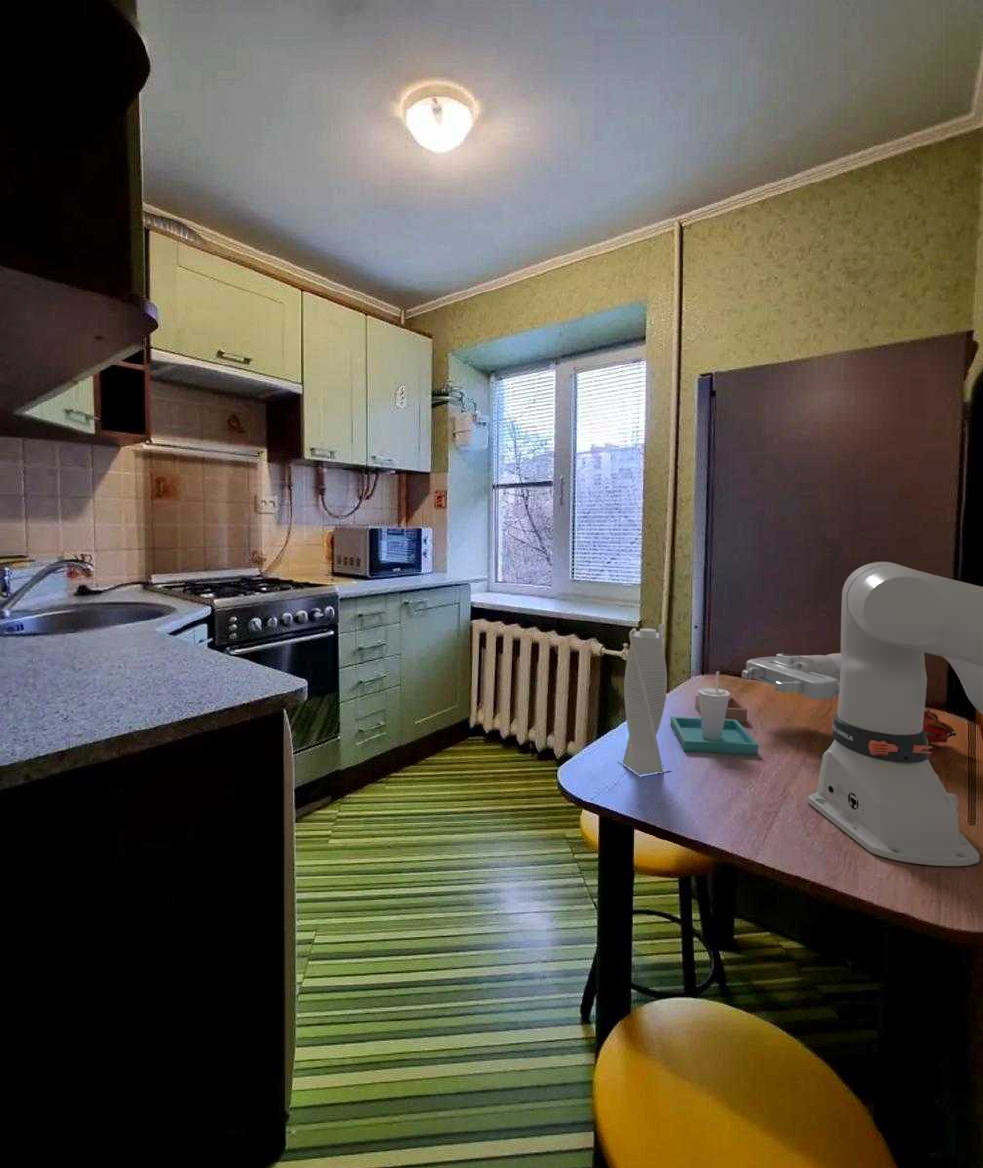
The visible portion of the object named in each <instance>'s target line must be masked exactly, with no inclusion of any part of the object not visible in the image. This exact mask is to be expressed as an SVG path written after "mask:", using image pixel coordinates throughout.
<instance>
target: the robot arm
mask: <svg viewBox="0 0 983 1168" xmlns="http://www.w3.org/2000/svg"><path fill="white" fill-rule="evenodd" d="M840 609H841V610H840V611H841V615H840V652H838V653H837V652H836V653H829V654H826V655H825V654H824V655H823V654H813V655H807V654H806V655H805V654H804V655H803V654H802V655H795V654H789V653H777V654H776V655H775V656H764V657H763V656H762V657H757V658H752V659H748V660H747V661H746V663H745V664H746V666H745V669H743V670H741V678H743V679H744V680H753V679H755V680H758V681H762V682H764V683H767V684H769V685H771V686H774V689H775V690H776V691H778V692H780V693H785V692H788V693H795V694H798V695H800V696H803V697H806V698H808V699H812V700H815V701H816V700H818V701H823V700H828V699H829V700H830V699H832V698H836V697H837V696H838V700H837V713H835V714H834V717H833V721H832V738H833V741H832V743H831V745H830V746H829V748H827V750H826V751H825V752H824V753H823V754H822V758H821V764H820V769H819V777H818V781H817V786H816V792H812V793H811V794H808V799H807V803H808V804H809V805H810V806H811V807H813V808H814V809H815V810H817V812H819V813H820V814H821V815H823V816H824V817H825V818H827V819H828V820H829V821H830V822H831V823H833V824H834V825H835V826H837V828H839V829H840V830H841V831H842V832H844V833H845V834H847V835H848V836H849V837H851V838H852V839H853V840H854V841H855V842H857V843H858V844H860V846H862V847H863V848H864V849H866V851H868V852H869V853H871V854H873V855H876V856H880V857H882V858H886V859H889V860H894V861H899V862H903V863H911V864H916V865H925V866H941V867H966V866H971V865H975V864H978V863H979V862H980V860H981V859H980V857H981V856H980V853H979V852H978V851H977V849H976V848H975V847H974V846H973V845H972V844H971V843H970V842H969V840H967V838H966V837H965V836H964V835H963V834H962V832H960V831H959V815H958V809H959V804H960V803H959V800H958V796H957V795H956V794H955V793H951V792H947V790H946V788H945V786H944V785H943V784H942V782H941V780H940V778H939V775H938V774H937V773H936V772H935V770H934V769H933V766H932V765H931V763H930V760H929V758H930V754H932V751H929V749H933V748H932V746H928V745H930V743H929V744H928V739H927V737H926V732H925V730H924V728H923V719H924V710H926V708H925V706H926V699H927V696H926V695H927V686H928V676H927V675H928V674H927V671H926V663H925V662H926V658H925V654H930V655H934V656H939V657H942V658H943V659H945V660H946V661H947V662H948V663H949V665H950V666H951V667H952V669H953V670H954V672H955V674H956V675H957V677H958V679H959V681H960V684H961V685H962V688H963V690H964V692H965V695H966V696H967V699H968V700H969V702H970V703H971V704H972V705H973V706H974V708H975V709H976V710H977V711H978V712H979V714H981V715H983V586H980V585H976V584H972V583H969V582H964V581H961V580H960V581H959V580H955V579H953V578H952V579H951V578H947V577H944V576H940V575H936V574H932V573H930V572H929V573H928V572H925V571H922V570H917V569H914V568H910V567H907V566H903V565H901V564H898V563H895V562H890V561H875V562H870V563H868V564H864V565H862V566H860V567H858V568H857V569H855V570H854V571H853V572H851V574H850V575H849V576H848V577H847V578H846V580H845V582H844V585H843V586H842V591H841V608H840Z"/></svg>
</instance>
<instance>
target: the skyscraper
mask: <svg viewBox="0 0 983 1168" xmlns="http://www.w3.org/2000/svg"><path fill="white" fill-rule="evenodd" d="M665 634H666V629H665V624H664V623H662V622H660V624H659V626H658V632H657V630H656V629H654V628H649V627H648V628H640V629H639V630H638V631H637V629H636V628H635V627H633V628H632V629H631V630H630V631H629V633H628V638H629V641H630V645H629V647H628V648H629V649H628V652H627V653H628V654H627V659H626V665H625V672H624V682H623V683H624V684H623V686H624V688H623V690H624V692H623V696H624V708H625V709H624V710H625V717H626V719H625V720H626V725H627V729H628V730H627V731H628V735H629V736H628V740H627V743H626V747H625V752H624V757H623V759H622V760H623V764H625V765H626V766H627V767H630V768H631V769H632V770H634V771H635V772H636V773H638V775H642V774H650V773H655V772H663V768H662V765H663V764H662V759H661V754H660V748H659V743H658V739H657V735H658V731H659V729H660V726H661V722H662V719H663V714H664V711H665V706H666V699H667V690H668V676H667V675H668V674H667V663H666V657H665V651H664V650H665V649H664V644H663V639H664V637H665ZM664 766H665V765H663V767H664Z"/></svg>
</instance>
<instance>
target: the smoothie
mask: <svg viewBox="0 0 983 1168" xmlns="http://www.w3.org/2000/svg"><path fill="white" fill-rule="evenodd" d="M719 681H720V671H716V673H715V686H714V687H701V688H698V690H697V694H696V696H699V702H700V714H701V715H700V714H699V715H700V718H701V726H702V736H703V737H704V738H706V739H710V740H720V739H721V736H722V731H723V726H724V721H725V716H726V710H727V705H728V700H730V697H731V692H730V691H728V690H726V689H724V688H719V683H720V682H719Z"/></svg>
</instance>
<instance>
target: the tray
mask: <svg viewBox="0 0 983 1168" xmlns="http://www.w3.org/2000/svg"><path fill="white" fill-rule="evenodd" d="M670 729H672V731H673V730H674V732H675V734H676V735H675V734H674V735H675V737H676V736H677V737H676V739H677V738H678V739H677V741H678V740H679V741H678V743H679V742H680V743H679V745H680V744H681V745H680V746H682V747H681V749H682V748H683V749H682V750H684V751H683V752H688V751H696V752H695V753H707V752H714V753H713V754H726V755H727V754H731V755H745V756H746V755H748V756H749V755H750V756H758V755H759V744H758V742H757V741H756V740H755V739H754V738H753V737H752V736H751V734H749V732H748V731H747V730H746V729H745V728H744V726H743V725H742V724H741V722H738V721H737V720H732V719H725V721H724V726H723V731H722V736H721V739H720V740H710V739H706V738H704V737H703V736H702V726H701V717H682V716H670ZM674 732H673V733H674ZM715 752H716V753H715Z"/></svg>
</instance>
